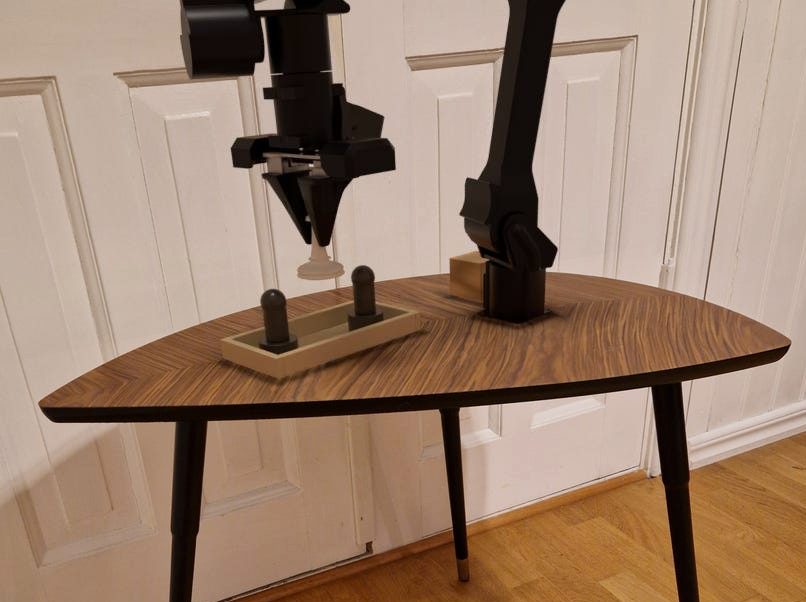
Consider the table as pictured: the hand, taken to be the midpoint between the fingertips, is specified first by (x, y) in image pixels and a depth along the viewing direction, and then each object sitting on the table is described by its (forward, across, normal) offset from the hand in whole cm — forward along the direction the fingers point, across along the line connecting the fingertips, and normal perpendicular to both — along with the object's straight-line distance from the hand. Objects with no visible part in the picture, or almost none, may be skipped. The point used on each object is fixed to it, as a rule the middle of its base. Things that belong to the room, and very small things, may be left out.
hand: (317, 245), depth 82 cm
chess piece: (+3, 0, 0) cm, 3 cm away
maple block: (+11, 0, -25) cm, 27 cm away
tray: (+11, 0, 0) cm, 11 cm away
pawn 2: (+10, 0, -6) cm, 12 cm away
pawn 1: (+10, 0, +6) cm, 12 cm away
